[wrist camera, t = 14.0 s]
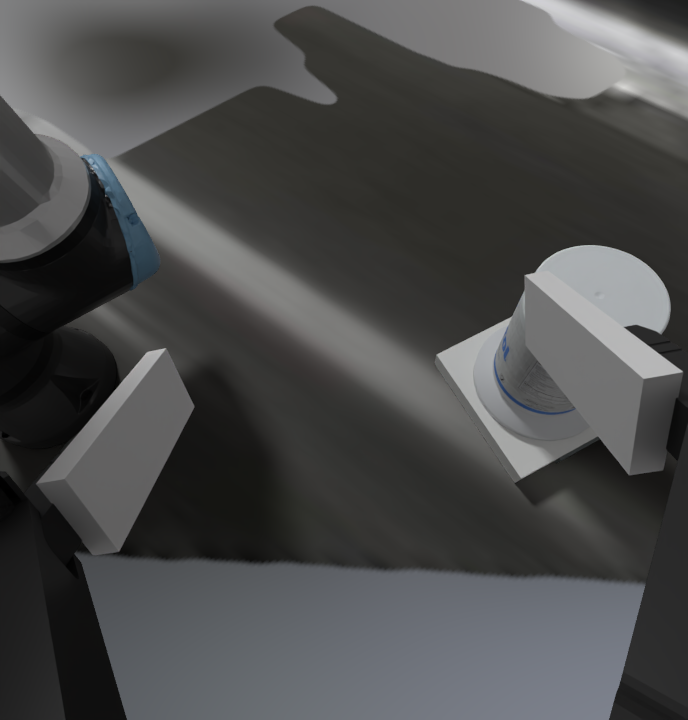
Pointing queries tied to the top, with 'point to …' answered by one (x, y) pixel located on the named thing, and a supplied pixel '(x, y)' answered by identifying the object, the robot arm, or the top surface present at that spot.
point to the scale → (508, 410)
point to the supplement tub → (604, 290)
